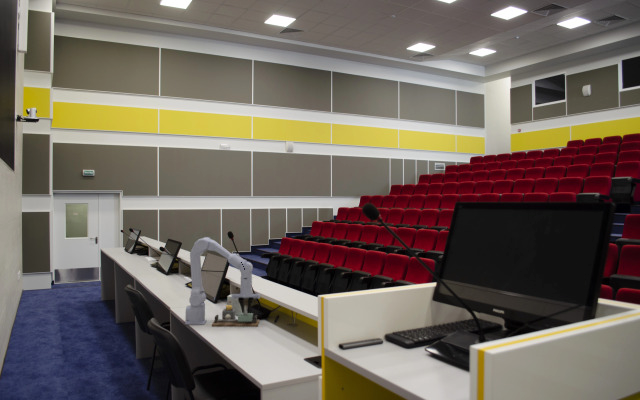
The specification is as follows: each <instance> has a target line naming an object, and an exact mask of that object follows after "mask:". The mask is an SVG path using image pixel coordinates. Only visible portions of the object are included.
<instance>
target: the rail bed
mask: <svg viewBox="0 0 640 400" xmlns="http://www.w3.org/2000/svg"><path fill="white" fill-rule="evenodd" d="M259 324H260V319H258V315H257V314H255V315H254V316H253V319H252V321H238V318H237V319H236V318H235V319H219V314H216V315H215V316H214V320H213V322H212V324H211V327H216V328H217V327H224V328H227V327H230V328H232V327H235V328H237V327H240V328H241V327H243V328H244V327H247V328H248V327H250V328H251V327H255V328H257V327H259Z"/></svg>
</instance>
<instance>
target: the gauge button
mask: <svg viewBox="0 0 640 400" xmlns="http://www.w3.org/2000/svg"><path fill="white" fill-rule="evenodd" d="M225 309H226V310H232V305H227V304H226V305H225Z"/></svg>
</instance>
